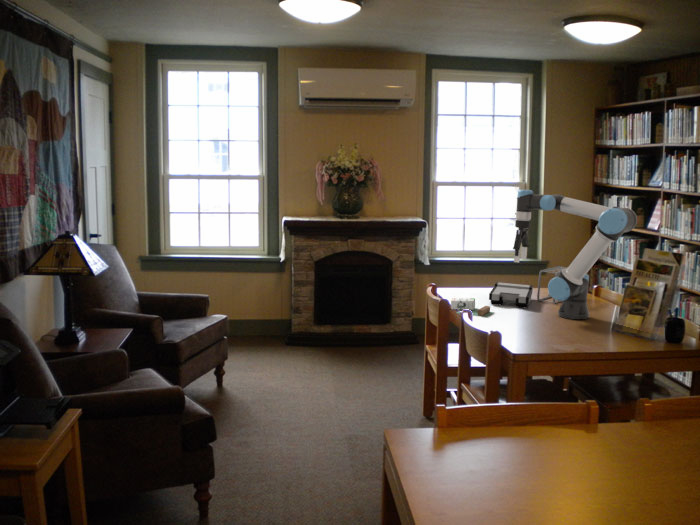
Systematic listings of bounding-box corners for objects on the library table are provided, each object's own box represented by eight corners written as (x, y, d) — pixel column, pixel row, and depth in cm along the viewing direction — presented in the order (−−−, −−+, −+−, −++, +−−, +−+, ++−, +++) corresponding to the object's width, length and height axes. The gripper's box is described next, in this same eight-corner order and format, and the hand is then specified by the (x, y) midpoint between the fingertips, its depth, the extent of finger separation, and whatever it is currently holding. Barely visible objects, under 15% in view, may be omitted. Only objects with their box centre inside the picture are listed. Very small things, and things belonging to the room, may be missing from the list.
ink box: (475, 307, 374) (452, 306, 377) (475, 297, 373) (452, 297, 376) (473, 310, 366) (450, 309, 369) (473, 300, 365) (450, 300, 368)
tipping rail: (489, 312, 365) (490, 306, 364) (482, 316, 354) (483, 310, 354) (485, 311, 366) (485, 305, 365) (477, 315, 355) (478, 309, 355)
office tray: (488, 306, 383) (489, 291, 382) (495, 296, 413) (496, 282, 412) (527, 310, 377) (529, 295, 376) (531, 299, 407) (532, 285, 406)
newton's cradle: (554, 304, 395) (556, 272, 392) (536, 301, 401) (539, 270, 399) (575, 297, 418) (577, 267, 415) (558, 294, 424) (560, 265, 422)
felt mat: (494, 313, 365) (494, 312, 365) (486, 318, 352) (486, 317, 352) (464, 309, 372) (464, 308, 372) (455, 313, 360) (455, 312, 360)
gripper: (522, 217, 377) (519, 257, 380) (509, 220, 355) (506, 262, 358) (536, 219, 374) (533, 258, 377) (524, 221, 352) (520, 264, 355)
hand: (520, 260), depth 368 cm, fingers open, 13 cm apart
